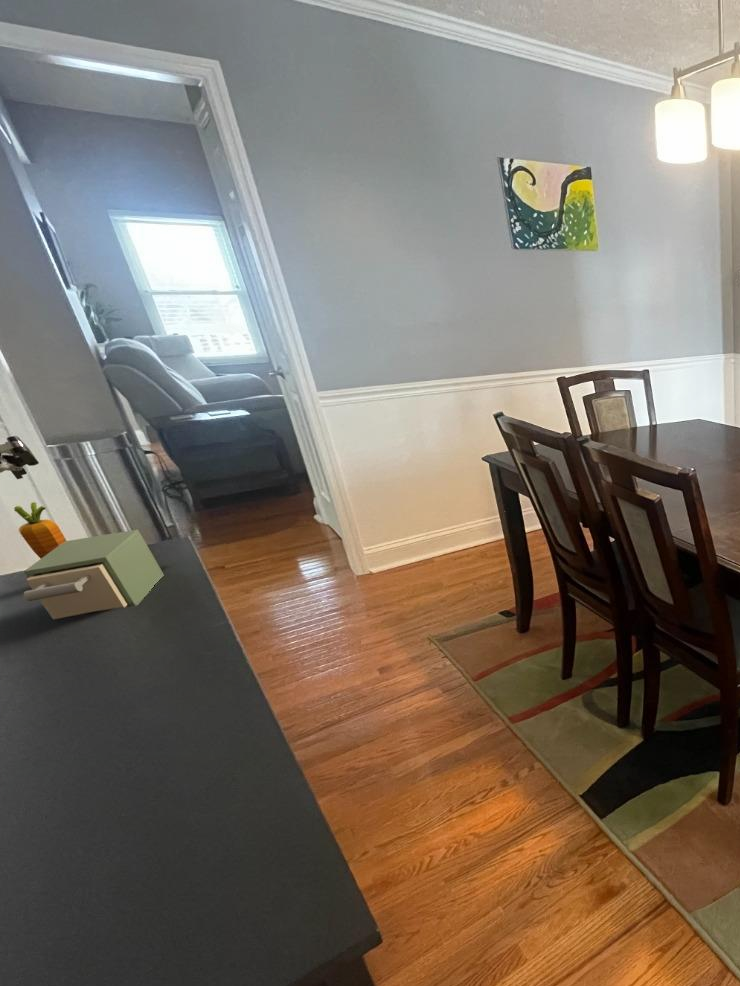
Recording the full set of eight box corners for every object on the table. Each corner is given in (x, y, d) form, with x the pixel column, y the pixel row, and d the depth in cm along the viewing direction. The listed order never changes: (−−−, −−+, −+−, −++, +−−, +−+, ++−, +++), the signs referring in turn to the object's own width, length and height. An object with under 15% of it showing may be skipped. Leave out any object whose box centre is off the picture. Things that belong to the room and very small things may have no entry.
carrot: (76, 570, 116) (29, 498, 109) (95, 571, 115) (49, 499, 108) (44, 582, 111) (-7, 508, 104) (64, 584, 110) (14, 509, 103)
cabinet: (136, 606, 102) (105, 557, 97) (58, 622, 98) (22, 571, 94) (164, 575, 112) (138, 529, 107) (95, 588, 108) (64, 541, 104)
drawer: (111, 622, 96) (84, 579, 92) (38, 637, 93) (6, 594, 89) (152, 578, 109) (129, 540, 105) (89, 590, 106) (63, 551, 102)
